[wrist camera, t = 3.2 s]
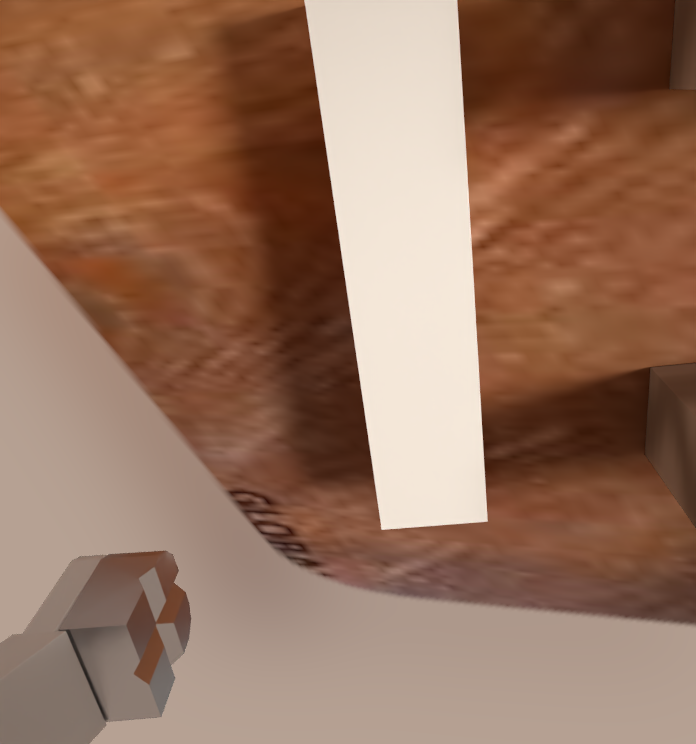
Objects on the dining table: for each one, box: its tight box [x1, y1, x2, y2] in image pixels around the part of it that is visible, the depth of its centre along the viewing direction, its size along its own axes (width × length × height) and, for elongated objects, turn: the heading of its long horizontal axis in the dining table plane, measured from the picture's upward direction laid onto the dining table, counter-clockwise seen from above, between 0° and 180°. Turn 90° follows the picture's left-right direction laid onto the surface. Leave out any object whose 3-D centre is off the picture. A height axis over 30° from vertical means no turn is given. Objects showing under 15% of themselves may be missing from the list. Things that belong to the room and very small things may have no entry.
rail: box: [305, 0, 488, 530], centre depth 22 cm, size 18×4×4 cm, turn 8°
